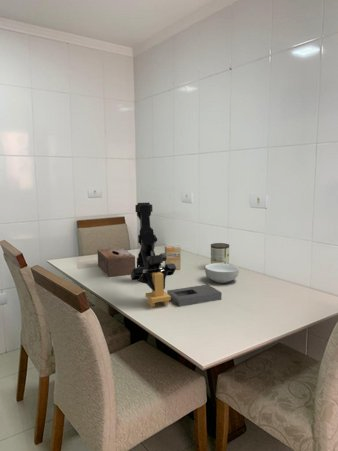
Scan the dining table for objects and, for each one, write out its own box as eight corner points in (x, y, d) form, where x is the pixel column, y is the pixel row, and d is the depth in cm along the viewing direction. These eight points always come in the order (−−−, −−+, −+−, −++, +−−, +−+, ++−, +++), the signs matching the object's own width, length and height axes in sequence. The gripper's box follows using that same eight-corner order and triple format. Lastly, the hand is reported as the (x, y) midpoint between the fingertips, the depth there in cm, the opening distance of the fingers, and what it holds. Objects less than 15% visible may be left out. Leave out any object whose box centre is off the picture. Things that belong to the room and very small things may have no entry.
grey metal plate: (167, 297, 154) (167, 290, 154) (207, 290, 162) (207, 284, 161) (179, 306, 143) (178, 299, 143) (221, 299, 151) (221, 292, 151)
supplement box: (166, 270, 196) (166, 247, 194) (164, 268, 201) (164, 245, 199) (180, 269, 198) (180, 246, 196) (178, 267, 203) (178, 244, 201)
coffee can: (210, 266, 203) (210, 242, 201) (228, 267, 202) (228, 243, 200) (210, 271, 193) (210, 246, 191) (229, 272, 192) (230, 246, 190)
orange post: (145, 302, 148) (145, 272, 146) (163, 299, 151) (162, 269, 149) (152, 308, 141) (151, 277, 139) (170, 305, 144) (170, 274, 142)
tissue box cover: (135, 274, 190) (135, 256, 188) (109, 278, 184) (108, 259, 182) (122, 263, 213) (121, 247, 212) (98, 266, 207) (97, 249, 206)
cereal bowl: (238, 286, 167) (238, 272, 166) (203, 284, 171) (203, 270, 170) (238, 276, 184) (238, 263, 183) (206, 275, 187) (206, 262, 186)
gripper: (132, 248, 142) (141, 283, 134) (174, 244, 150) (185, 277, 141) (126, 263, 151) (135, 296, 142) (167, 259, 158) (177, 290, 150)
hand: (159, 289), depth 144 cm, fingers open, 4 cm apart
